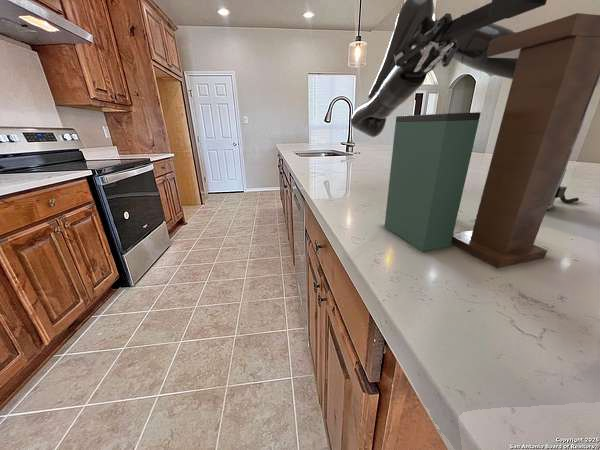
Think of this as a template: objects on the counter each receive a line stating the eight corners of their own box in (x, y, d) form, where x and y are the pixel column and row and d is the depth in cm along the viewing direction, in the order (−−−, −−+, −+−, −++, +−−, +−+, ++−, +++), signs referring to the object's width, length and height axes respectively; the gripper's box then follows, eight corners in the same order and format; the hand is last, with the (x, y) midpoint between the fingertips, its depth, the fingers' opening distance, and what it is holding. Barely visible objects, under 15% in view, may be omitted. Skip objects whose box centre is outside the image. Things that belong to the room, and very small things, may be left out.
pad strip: (442, 43, 49) (445, 25, 48) (545, 4, 33) (554, -25, 32) (426, 42, 48) (428, 23, 47) (523, 2, 32) (531, -28, 31)
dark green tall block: (407, 223, 55) (423, 115, 47) (450, 246, 45) (481, 112, 36) (384, 226, 54) (396, 116, 45) (422, 251, 43) (447, 113, 35)
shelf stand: (482, 231, 50) (535, 43, 37) (544, 257, 40) (644, 14, 28) (442, 239, 48) (484, 40, 35) (497, 268, 38) (583, 8, 25)
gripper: (371, 70, 59) (420, -4, 42) (420, 71, 62) (484, 2, 45) (377, 99, 58) (430, 34, 41) (427, 98, 61) (494, 38, 45)
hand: (458, 18), depth 44 cm, fingers closed on pad strip, 3 cm apart
